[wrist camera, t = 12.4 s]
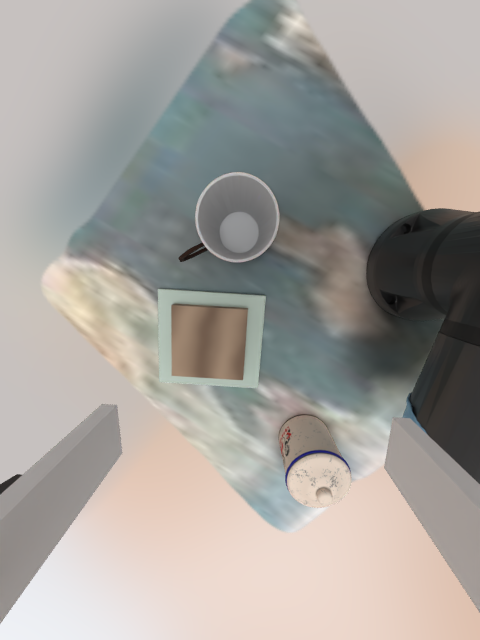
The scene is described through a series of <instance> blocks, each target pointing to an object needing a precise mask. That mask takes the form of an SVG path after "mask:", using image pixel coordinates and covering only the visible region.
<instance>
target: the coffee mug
mask: <svg viewBox="0 0 480 640" xmlns="http://www.w3.org/2000/svg"><path fill="white" fill-rule="evenodd" d="M195 221H196V228H197V232H198V235H199V237H200V239H201V241H202V243H200V244H198V245H196V246H194V247H192V248H190V249H189V250H188V251H186V252H185V253H183V254H182V255H181V256H180V257H179V260H180V262H183V261H186V260H188V259H190V258H193V257H195V256H197V255H199V254H201V253H203V252H205V251H207V250H209V251H210V252H211V253H212V254H214V255H215V256H217V257H218V258H220V259H223V260H225V261H229V262H245V261H249V260H252V259H254V258H256V257H258V256H260V255H261V254H262V253H264V252H265V251H266V250H267V249H268V248H269V246H270V245H271V244H272V242H273V240H274V239H275V236H276V234H277V231H278V226H279V208H278V203H277V201H276V198H275V196H274V194H273V193H272V191H271V189H270V188H269V187H268V186H267V185H266V184H265V183H264V182H263V181H262V180H260V179H259V178H257V177H255V176H253V175H251V174H248V173H242V172H231V173H228V174H224V175H222V176H220V177H218V178H216V179H214V180H213V181H212V182H211V183H209V184H208V186H207V187H206V188H205V189H204V190H203V192H202V194H201V196H200V198H199V200H198V203H197V206H196V213H195ZM202 246H205V248H203V249H201V250H199V251H197V252H195V253H193V254H191V253H192V252H194V251H196V250H197V249H199V248H201V247H202ZM189 254H191V255H189Z"/></svg>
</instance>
